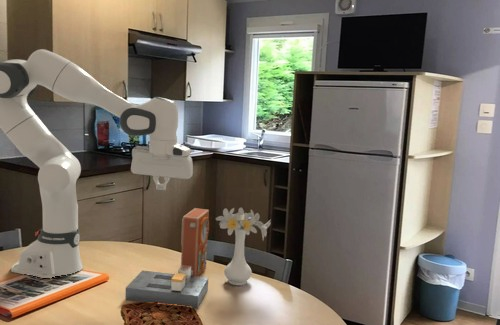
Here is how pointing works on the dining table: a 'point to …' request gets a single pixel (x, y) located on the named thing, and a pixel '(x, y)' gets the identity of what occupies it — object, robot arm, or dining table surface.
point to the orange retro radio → (195, 240)
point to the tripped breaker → (178, 282)
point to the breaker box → (167, 288)
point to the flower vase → (240, 242)
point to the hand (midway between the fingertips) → (160, 189)
